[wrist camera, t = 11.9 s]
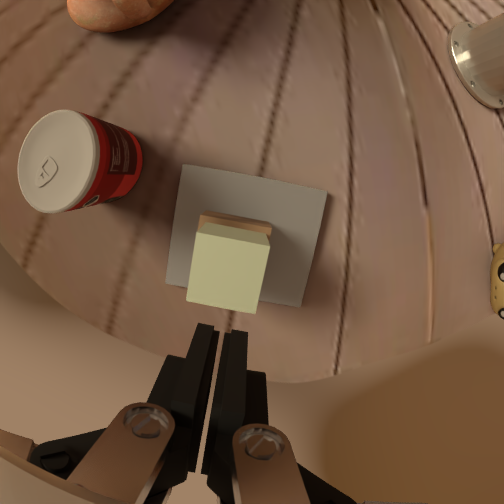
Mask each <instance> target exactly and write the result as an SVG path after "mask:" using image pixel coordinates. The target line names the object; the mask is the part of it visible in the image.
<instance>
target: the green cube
mask: <svg viewBox="0 0 504 504" xmlns="http://www.w3.org/2000/svg"><path fill="white" fill-rule="evenodd" d="M269 250H270V244H269V241H268V239H267V236H266V234H265V233H260V232H255V231H250V230H245V229H239V228H234V227H229V226H224V225H219V224H213V223H208V222H206V223H205V224H204V225H203V226H202V227H201V228H200V229H199V230H198V231H197V232H196V238H195V245H194V251H193V257H192V264H191V270H190V277H189V284H188V291H187V298H186V301H189V302H194V303H199V304H204V305H209V306H215V307H220V308H225V309H230V310H236V311H241V312H247V313H253V314H255V313H256V308H257V304H258V299H259V295H260V291H261V286H262V282H263V277H264V273H265V268H266V263H267V259H268V254H269Z"/></svg>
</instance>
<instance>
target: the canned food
mask: <svg viewBox="0 0 504 504" xmlns="http://www.w3.org/2000/svg"><path fill="white" fill-rule="evenodd" d="M142 163H143V157H142V151H141V147H140V145H139V143H138V141H137V139H136V138H135V136H134V135H133V134H132V133H130V132H129V131H127V130H125V129H123V128H121V127H118V126H116V125H113V124H111V123H108V122H105V121H103V120H100V119H97V118H95V117H92V116H89V115H87V114H84V113H80V112H77V111H72V110H57V111H54V112H51V113H49V114H47V115H46V116H44V117H42V118H41V119H40V120H39V121H38V122H37V123H36V124H35V125H34V126H33V127H32V129H31V130H30V131H29V133H28V135H27V136H26V138H25V140H24V142H23V145H22V147H21V151H20V155H19V160H18V180H19V185H20V188H21V191H22V193H23V195H24V197H25V199H26V200H27V201H28V203H29V204H30V205H31V206H32V207H34V208H35V209H37V210H38V211H41V212H44V213H60V212H65V211H71V210H75V209H80V208H84V207H88V206H93V205H97V204H102V203H107V202H111V201H115V200H117V199H119V198H121V197H123V196H124V195H126V194H127V193H128V192H129V191H130V190H131V189H132V187H133V186H134V185H135V183H136V182H137V180H138V178H139V176H140V173H141V170H142Z"/></svg>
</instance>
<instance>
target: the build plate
mask: <svg viewBox="0 0 504 504" xmlns="http://www.w3.org/2000/svg"><path fill="white" fill-rule="evenodd" d="M326 197H327V191H323V190H319V189H314V188H310V187H306V186H301V185H296V184H292V183H287V182H282V181H277V180H273V179H268V178H263V177H257V176H252V175H247V174H241V173H236V172H230V171H225V170H219V169H213V168H207V167H201V166H194V165H188V164H183V166H182V172H181V178H180V183H179V189H178V195H177V201H176V208H175V214H174V221H173V228H172V235H171V242H170V250H169V257H168V266H167V274H166V283H167V284H172V285H177V286H182V287H187V288H188V284H189V277H190V270H191V264H192V257H193V251H194V245H195V238H196V232H197V231H198V224H199V218H200V215H201V214H202V213H203V212H205V211H206V210H208V211H213V212H219V213H225V214H230V215H236V216H241V217H246V218H252V219H257V220H262V221H267V222H269V223H270V225H271V227H272V230H271V235H270V240H269V244H270V250H269V254H268V259H267V263H266V268H265V273H264V277H263V282H262V286H261V291H260V295H259V299H258V301H264V302H270V303H276V304H282V305H288V306H295V307H301V303H302V299H303V295H304V291H305V288H306V284H307V280H308V276H309V272H310V268H311V263H312V259H313V255H314V251H315V247H316V242H317V238H318V234H319V229H320V225H321V220H322V216H323V211H324V206H325V202H326Z"/></svg>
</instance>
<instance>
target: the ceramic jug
mask: <svg viewBox="0 0 504 504" xmlns="http://www.w3.org/2000/svg"><path fill="white" fill-rule="evenodd" d="M173 1H174V0H67V6H68V11H69V14H70V16H71V18H72V19H73V21H74V22H75V23H76V24H77V25H79V26H80V27H82V28H84V29H87V30H90V31H94V32H116V31H121V30H125V29H129V28H132V27H135V26H137V25H140V24H143V23H144V22H147V21H149V20H151V19H152V18H154V17H155V16H157V15H158V14H159V13H161V12H162V11H163V10H164V9H166V8H167V7H168V6H169V5H170V4H171V3H172V2H173Z"/></svg>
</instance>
